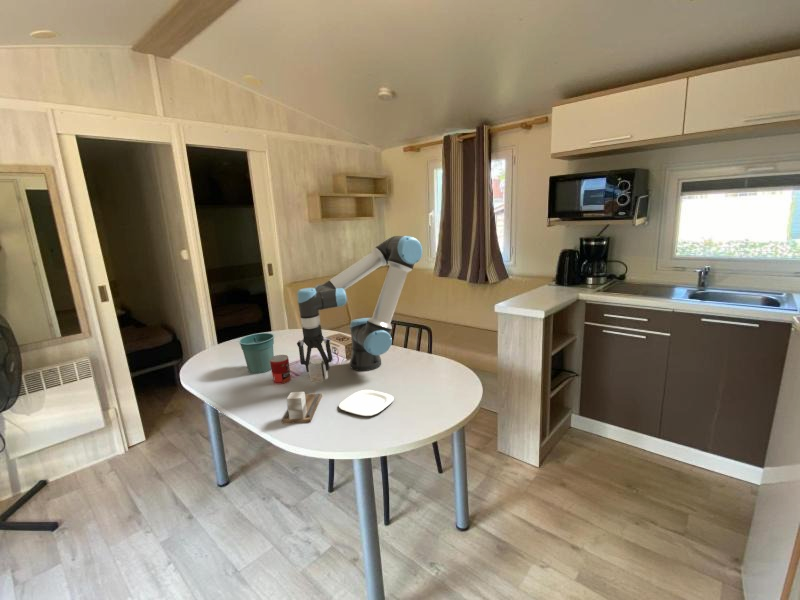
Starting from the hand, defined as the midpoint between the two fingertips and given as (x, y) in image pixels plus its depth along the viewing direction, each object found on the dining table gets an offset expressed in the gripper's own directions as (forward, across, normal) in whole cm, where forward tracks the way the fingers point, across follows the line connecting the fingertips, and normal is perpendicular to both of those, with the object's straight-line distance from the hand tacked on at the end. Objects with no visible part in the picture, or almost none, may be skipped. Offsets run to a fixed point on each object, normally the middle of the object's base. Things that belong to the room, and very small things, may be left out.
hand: (319, 378), depth 159 cm
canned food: (+4, +20, -11) cm, 23 cm away
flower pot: (+4, +35, -26) cm, 43 cm away
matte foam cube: (0, 0, 0) cm, 0 cm away
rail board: (+4, +3, +17) cm, 18 cm away
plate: (+6, -21, +16) cm, 27 cm away
